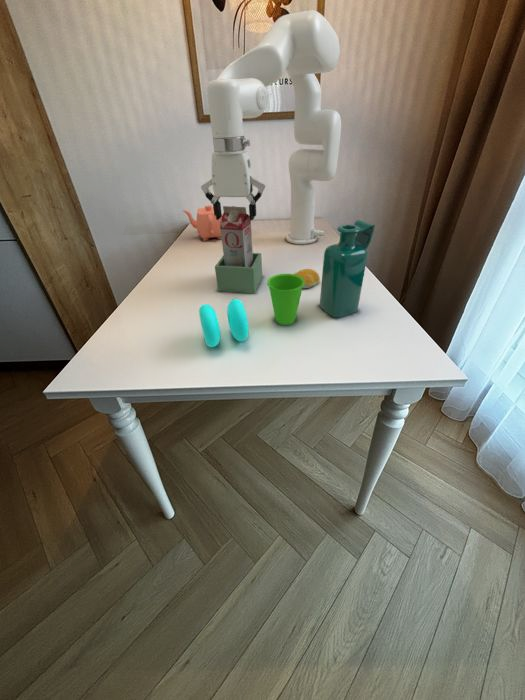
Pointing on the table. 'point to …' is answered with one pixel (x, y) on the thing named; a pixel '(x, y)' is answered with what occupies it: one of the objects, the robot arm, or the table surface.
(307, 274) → the bread roll
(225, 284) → the bin
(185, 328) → the table surface
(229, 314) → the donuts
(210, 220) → the teapot
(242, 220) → the juice carton
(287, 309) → the cup
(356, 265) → the pitcher
